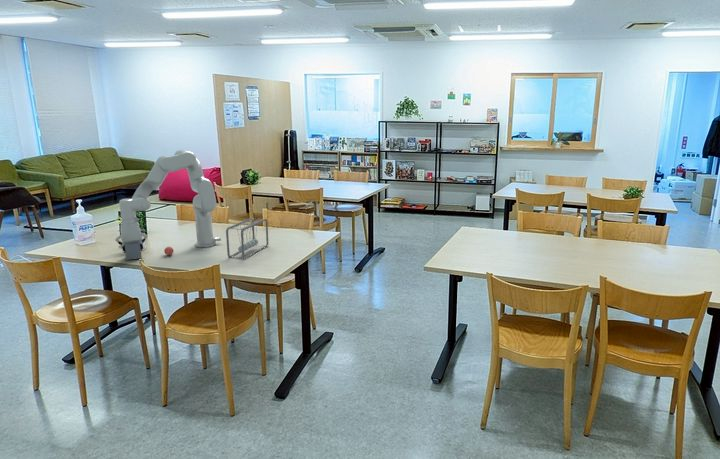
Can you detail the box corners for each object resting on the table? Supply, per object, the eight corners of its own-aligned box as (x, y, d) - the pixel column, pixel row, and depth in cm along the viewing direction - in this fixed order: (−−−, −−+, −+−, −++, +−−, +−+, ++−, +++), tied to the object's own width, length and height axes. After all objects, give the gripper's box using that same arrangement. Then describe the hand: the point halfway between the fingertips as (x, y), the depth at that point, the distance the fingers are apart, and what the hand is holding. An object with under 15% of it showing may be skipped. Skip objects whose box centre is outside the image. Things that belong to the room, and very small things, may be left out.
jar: (131, 252, 293) (129, 232, 290) (129, 248, 299) (126, 229, 296) (147, 249, 297) (145, 230, 294) (145, 246, 304) (143, 227, 301)
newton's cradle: (243, 260, 278) (242, 229, 274) (227, 258, 281) (225, 228, 277) (268, 246, 306) (267, 217, 301) (253, 244, 309) (252, 216, 304)
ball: (173, 253, 290) (172, 245, 289) (174, 255, 286) (173, 247, 285) (164, 254, 288) (163, 246, 287) (164, 256, 284) (164, 248, 283)
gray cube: (141, 254, 286) (139, 239, 284) (141, 258, 279) (139, 243, 277) (126, 256, 283) (124, 241, 281) (126, 259, 276) (124, 244, 274)
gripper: (146, 217, 283) (149, 247, 287) (112, 221, 276) (116, 251, 280) (146, 220, 276) (150, 251, 281) (111, 224, 269) (116, 255, 274)
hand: (133, 251), depth 280 cm, fingers closed on gray cube, 7 cm apart
